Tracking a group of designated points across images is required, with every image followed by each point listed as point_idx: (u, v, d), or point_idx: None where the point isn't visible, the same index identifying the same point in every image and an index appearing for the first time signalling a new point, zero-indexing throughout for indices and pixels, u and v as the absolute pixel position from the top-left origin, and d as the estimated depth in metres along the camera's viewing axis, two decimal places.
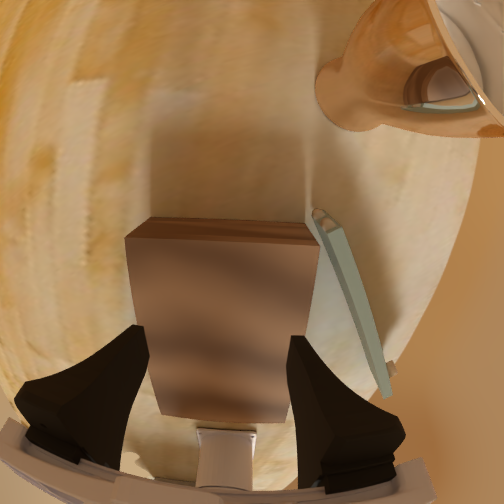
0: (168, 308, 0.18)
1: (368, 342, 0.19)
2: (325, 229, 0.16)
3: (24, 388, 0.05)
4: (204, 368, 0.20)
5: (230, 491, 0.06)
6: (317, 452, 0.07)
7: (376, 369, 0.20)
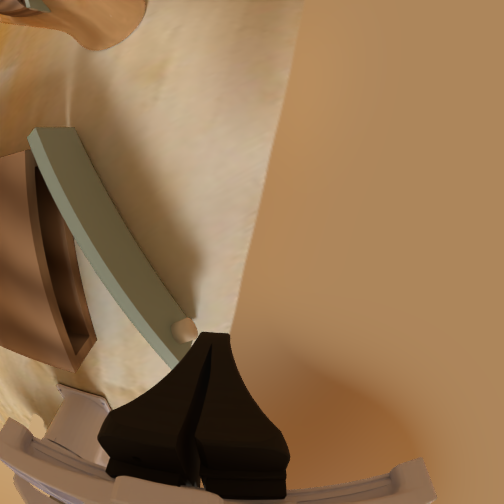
0: None
1: (92, 265, 0.14)
2: None
3: (115, 421, 0.05)
4: None
5: None
6: None
7: (127, 314, 0.16)
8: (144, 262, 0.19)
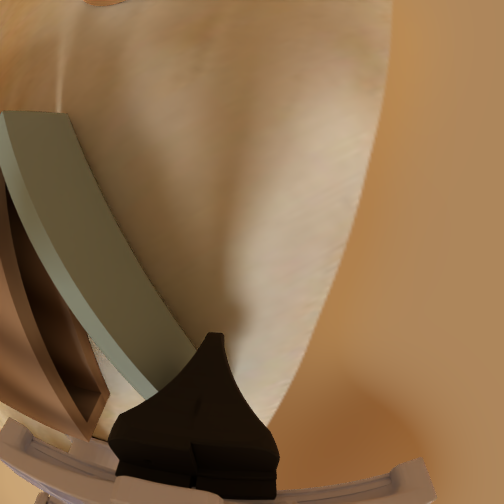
0: None
1: (97, 343, 0.09)
2: None
3: (126, 424, 0.05)
4: None
5: None
6: None
7: None
8: (169, 321, 0.13)
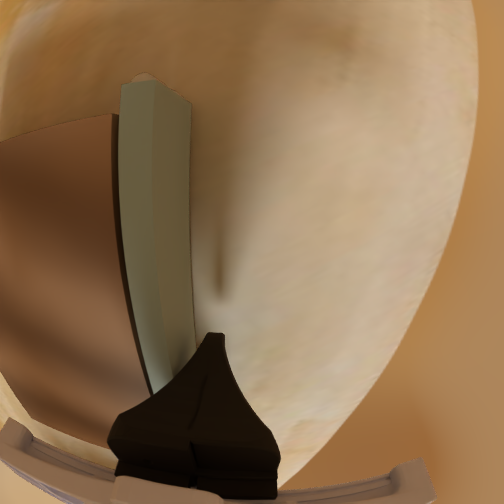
0: None
1: (149, 372, 0.09)
2: None
3: (125, 424, 0.05)
4: (29, 361, 0.10)
5: None
6: None
7: None
8: (194, 348, 0.14)
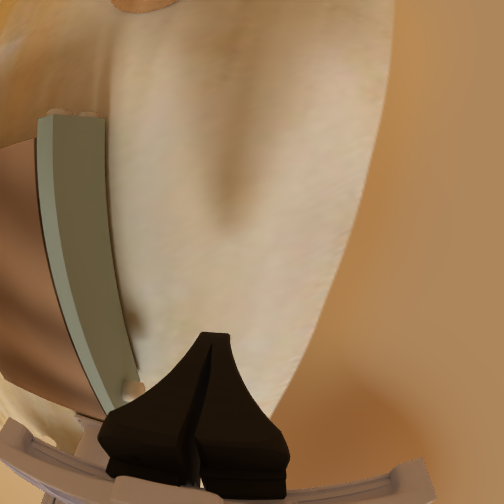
0: None
1: (66, 320, 0.11)
2: (46, 116, 0.08)
3: (115, 421, 0.05)
4: None
5: None
6: None
7: (86, 371, 0.13)
8: (118, 314, 0.16)
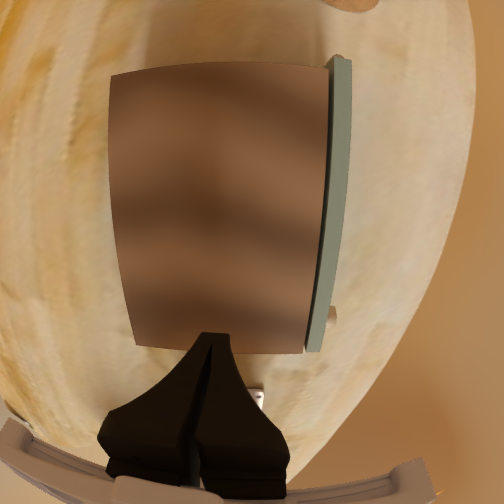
0: (149, 152, 0.13)
1: (327, 226, 0.15)
2: (332, 57, 0.12)
3: (115, 421, 0.05)
4: (190, 248, 0.15)
5: None
6: None
7: (319, 285, 0.16)
8: None
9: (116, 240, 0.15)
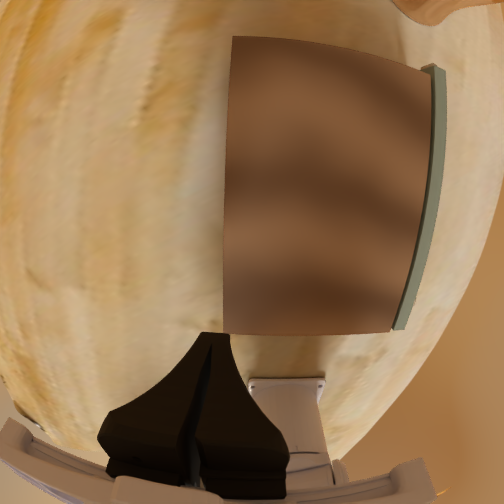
0: (278, 120, 0.13)
1: (427, 209, 0.14)
2: (430, 65, 0.11)
3: (115, 421, 0.05)
4: (312, 223, 0.15)
5: None
6: None
7: (415, 263, 0.16)
8: None
9: (226, 211, 0.15)
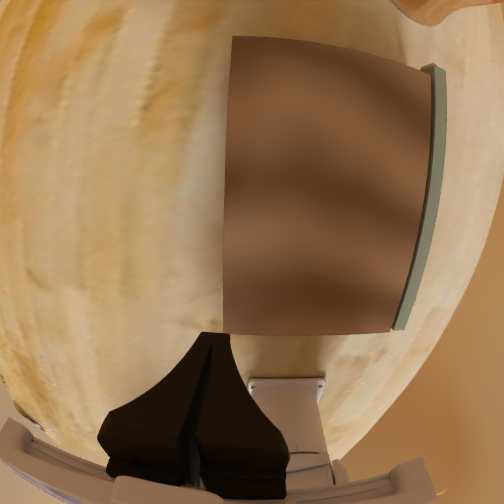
0: (278, 120, 0.13)
1: (427, 209, 0.14)
2: (430, 65, 0.11)
3: (115, 421, 0.05)
4: (312, 223, 0.15)
5: None
6: None
7: (415, 263, 0.16)
8: None
9: (226, 211, 0.15)
